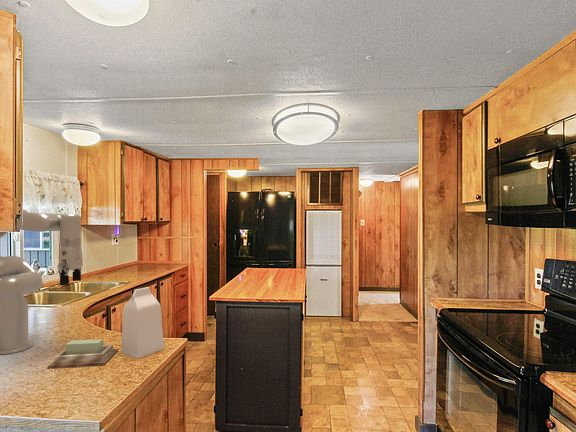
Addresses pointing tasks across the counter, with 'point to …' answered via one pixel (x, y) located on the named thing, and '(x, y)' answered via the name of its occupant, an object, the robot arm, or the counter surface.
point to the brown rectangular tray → (83, 358)
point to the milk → (142, 325)
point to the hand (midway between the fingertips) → (70, 282)
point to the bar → (84, 347)
